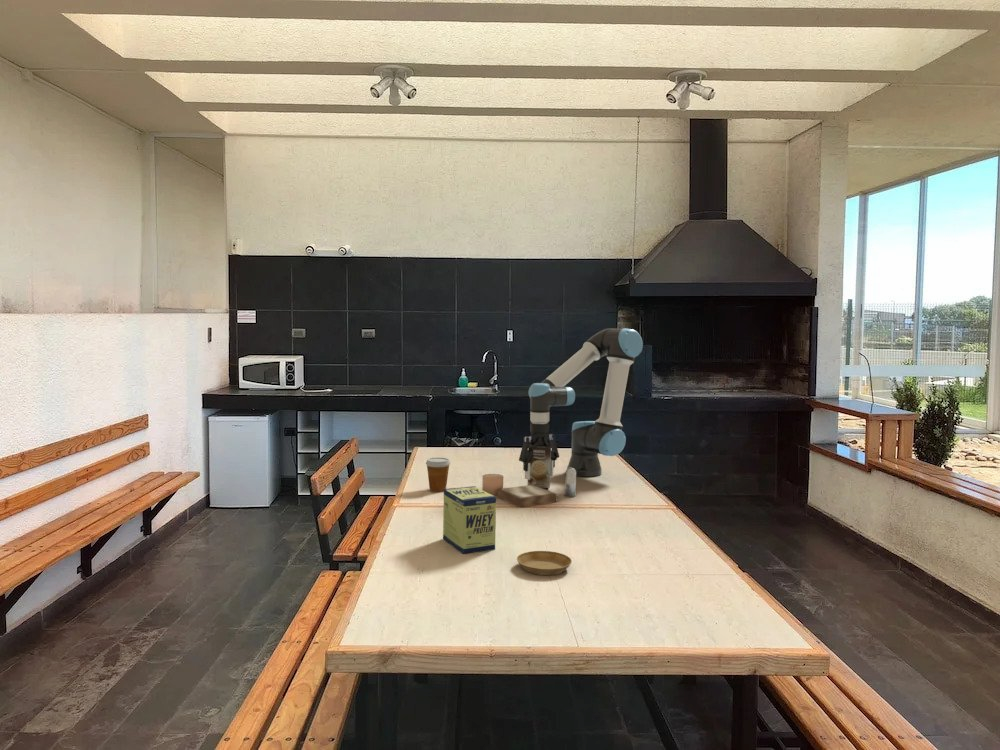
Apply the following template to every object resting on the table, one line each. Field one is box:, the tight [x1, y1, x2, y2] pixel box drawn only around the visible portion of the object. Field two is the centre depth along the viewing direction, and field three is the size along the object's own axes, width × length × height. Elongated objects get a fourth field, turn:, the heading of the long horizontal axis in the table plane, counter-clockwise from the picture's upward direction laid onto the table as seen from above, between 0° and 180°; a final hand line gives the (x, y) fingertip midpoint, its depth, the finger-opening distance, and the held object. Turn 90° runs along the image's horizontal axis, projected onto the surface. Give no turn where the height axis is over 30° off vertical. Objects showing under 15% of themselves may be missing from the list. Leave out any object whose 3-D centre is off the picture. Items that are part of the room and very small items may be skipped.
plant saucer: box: [516, 550, 573, 576], centre depth 187 cm, size 15×15×3 cm
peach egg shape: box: [481, 473, 504, 498], centre depth 267 cm, size 8×8×7 cm
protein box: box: [442, 485, 497, 555], centre depth 206 cm, size 10×16×16 cm
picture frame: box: [496, 485, 558, 508], centre depth 259 cm, size 16×16×3 cm
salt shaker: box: [564, 467, 577, 498], centre depth 266 cm, size 4×4×11 cm
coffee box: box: [526, 444, 552, 489], centre depth 277 cm, size 9×6×16 cm
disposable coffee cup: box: [425, 457, 451, 493], centre depth 271 cm, size 10×10×12 cm
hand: (539, 477), depth 278 cm, fingers closed on coffee box, 10 cm apart
